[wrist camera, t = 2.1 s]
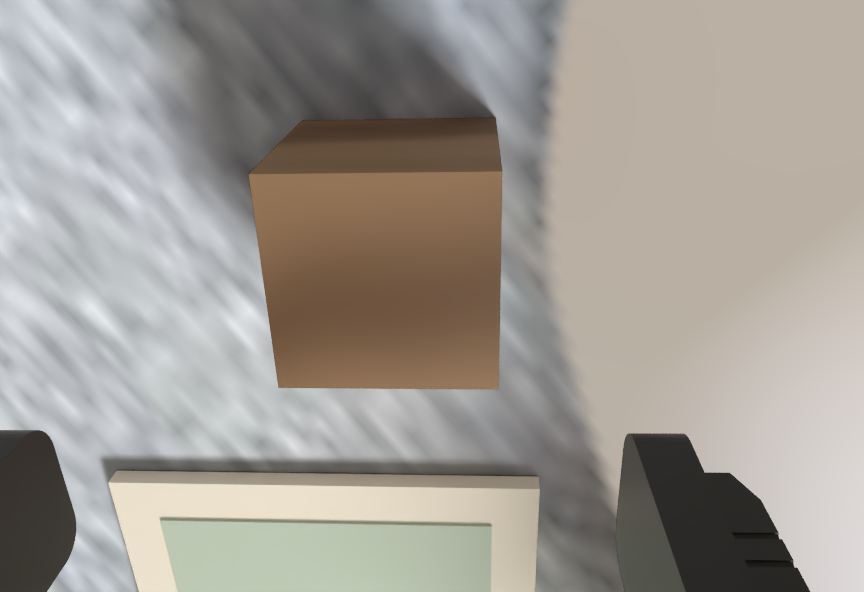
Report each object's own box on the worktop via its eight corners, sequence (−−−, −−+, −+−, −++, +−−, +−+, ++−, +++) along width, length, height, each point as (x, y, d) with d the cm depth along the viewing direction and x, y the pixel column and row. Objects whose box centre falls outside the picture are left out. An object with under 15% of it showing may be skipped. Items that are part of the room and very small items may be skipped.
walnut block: (302, 119, 19) (248, 174, 14) (495, 116, 18) (502, 171, 14) (320, 292, 21) (278, 387, 16) (493, 292, 21) (498, 389, 16)
